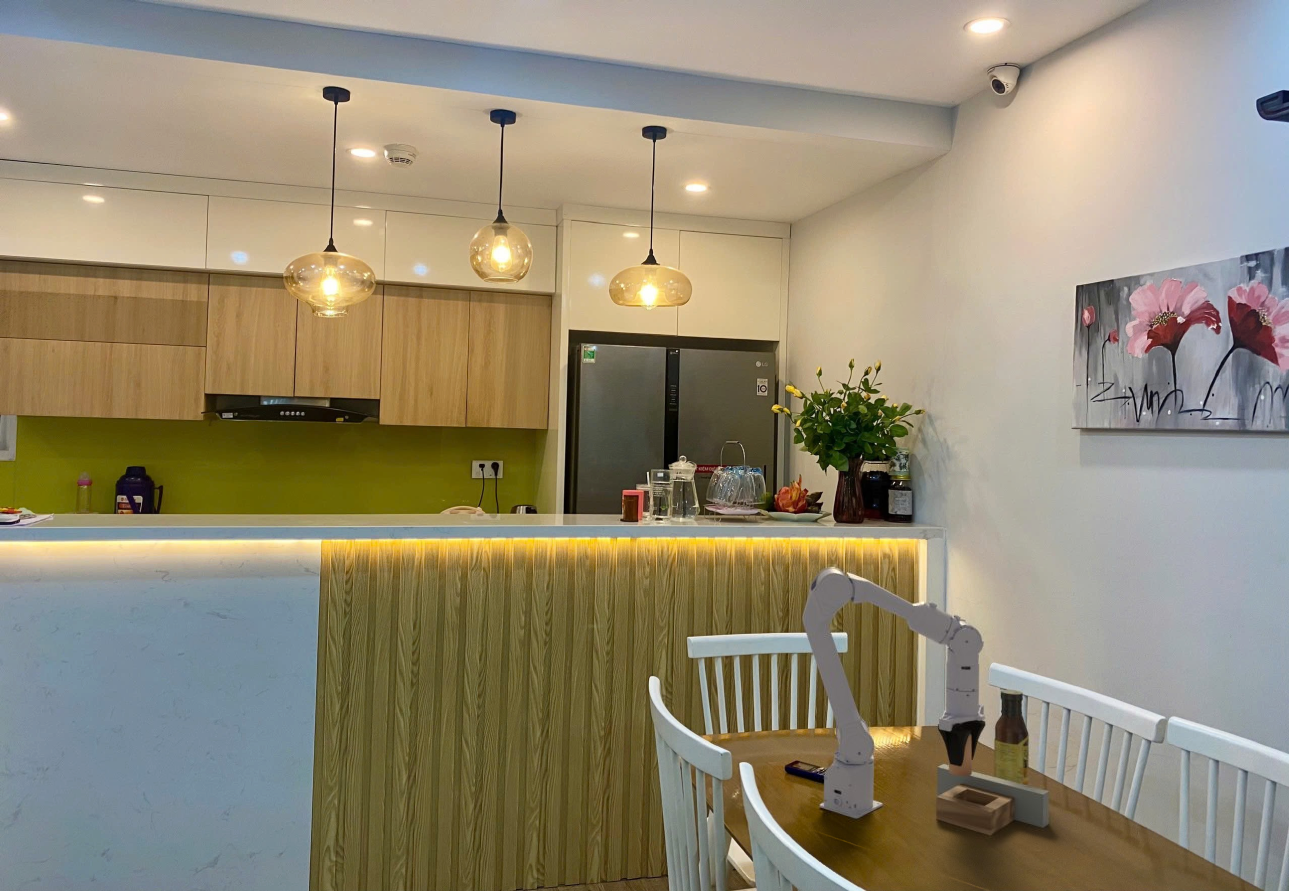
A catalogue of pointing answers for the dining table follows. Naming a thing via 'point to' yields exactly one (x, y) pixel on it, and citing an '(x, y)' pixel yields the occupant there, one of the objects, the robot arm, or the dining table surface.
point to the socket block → (975, 809)
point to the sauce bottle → (1011, 740)
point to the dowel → (967, 762)
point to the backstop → (1027, 799)
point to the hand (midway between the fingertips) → (961, 761)
